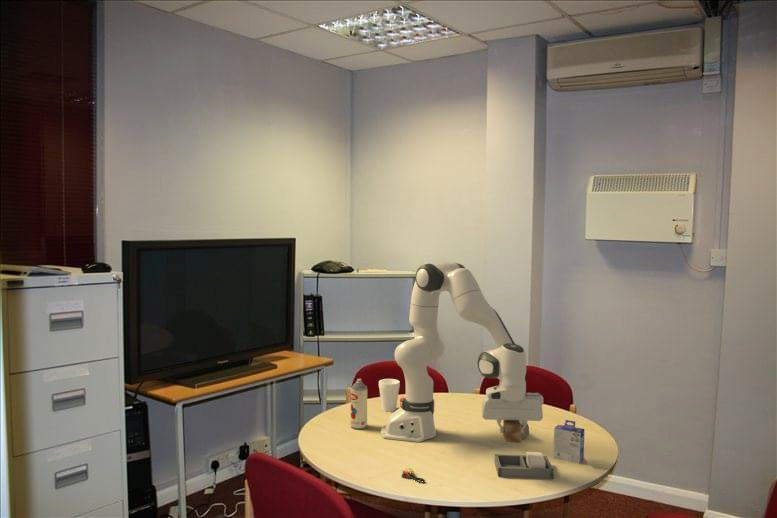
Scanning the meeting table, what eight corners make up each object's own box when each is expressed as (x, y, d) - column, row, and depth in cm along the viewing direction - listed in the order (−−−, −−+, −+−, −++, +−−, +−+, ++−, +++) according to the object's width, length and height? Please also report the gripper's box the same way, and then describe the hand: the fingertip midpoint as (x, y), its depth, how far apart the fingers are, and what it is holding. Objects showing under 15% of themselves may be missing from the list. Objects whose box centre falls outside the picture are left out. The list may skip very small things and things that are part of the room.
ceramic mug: (519, 442, 235) (520, 422, 235) (502, 436, 241) (502, 417, 241) (534, 436, 243) (535, 417, 242) (516, 430, 249) (517, 412, 248)
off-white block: (529, 475, 202) (530, 460, 202) (526, 465, 210) (526, 451, 210) (545, 476, 202) (545, 461, 201) (540, 466, 210) (541, 452, 209)
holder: (498, 479, 201) (498, 467, 200) (494, 465, 213) (494, 454, 212) (553, 481, 200) (553, 470, 199) (546, 467, 211) (546, 455, 211)
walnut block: (505, 442, 202) (506, 424, 201) (502, 434, 210) (503, 417, 209) (520, 442, 201) (521, 425, 201) (517, 434, 209) (517, 417, 209)
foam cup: (380, 406, 279) (380, 378, 279) (400, 407, 278) (400, 379, 277) (377, 412, 270) (377, 383, 269) (397, 413, 269) (398, 384, 268)
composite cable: (427, 483, 198) (427, 476, 198) (415, 486, 195) (415, 479, 195) (409, 472, 206) (409, 465, 206) (398, 476, 204) (398, 468, 203)
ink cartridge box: (584, 461, 217) (585, 422, 216) (580, 467, 212) (581, 426, 211) (556, 456, 222) (558, 417, 221) (552, 461, 217) (553, 421, 216)
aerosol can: (347, 425, 252) (347, 378, 251) (362, 423, 256) (362, 376, 254) (355, 430, 246) (355, 382, 245) (370, 427, 250) (370, 380, 248)
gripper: (541, 390, 207) (540, 430, 208) (481, 389, 208) (481, 428, 209) (545, 395, 201) (544, 436, 202) (483, 394, 202) (482, 434, 203)
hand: (511, 432), depth 205 cm, fingers closed on walnut block, 5 cm apart
